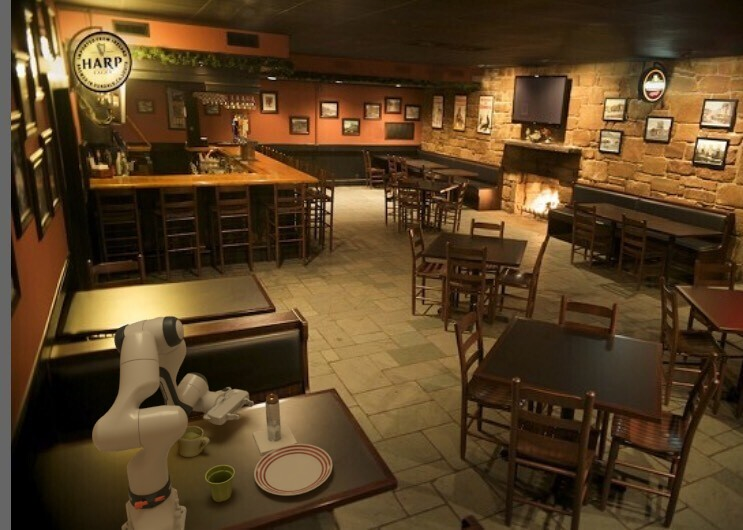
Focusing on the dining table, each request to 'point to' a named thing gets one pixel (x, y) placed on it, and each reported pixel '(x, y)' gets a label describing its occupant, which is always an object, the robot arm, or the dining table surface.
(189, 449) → the mug
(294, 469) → the dinner plate
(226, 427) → the dining table surface
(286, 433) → the serving tile
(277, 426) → the pepper mill
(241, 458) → the dining table surface
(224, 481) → the plant pot
